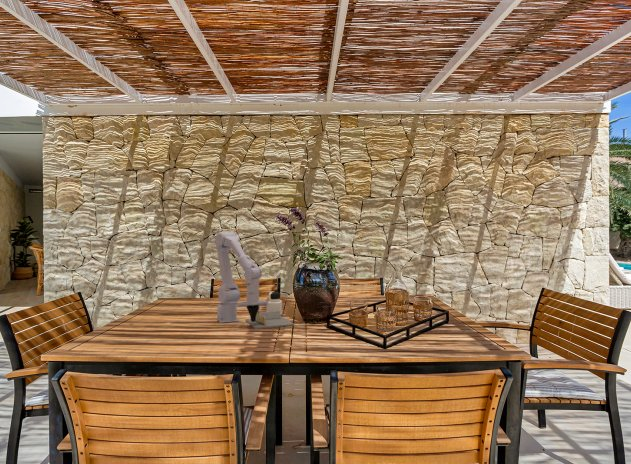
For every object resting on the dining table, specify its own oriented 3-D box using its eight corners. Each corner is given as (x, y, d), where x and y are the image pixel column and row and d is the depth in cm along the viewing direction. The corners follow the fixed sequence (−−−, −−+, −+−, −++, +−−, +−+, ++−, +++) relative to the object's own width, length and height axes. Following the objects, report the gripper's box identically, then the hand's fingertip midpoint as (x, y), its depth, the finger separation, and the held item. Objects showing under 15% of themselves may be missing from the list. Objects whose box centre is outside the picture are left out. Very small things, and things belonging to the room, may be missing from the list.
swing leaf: (264, 325, 217) (264, 316, 217) (253, 319, 229) (253, 311, 229) (269, 324, 218) (269, 315, 218) (258, 319, 230) (258, 310, 230)
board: (255, 329, 214) (255, 327, 214) (245, 320, 231) (245, 319, 231) (294, 325, 221) (294, 324, 221) (282, 317, 238) (282, 316, 238)
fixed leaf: (255, 321, 227) (255, 310, 227) (253, 320, 229) (253, 309, 229) (281, 319, 232) (281, 308, 232) (279, 318, 234) (279, 307, 234)
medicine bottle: (282, 313, 249) (282, 291, 249) (279, 316, 242) (280, 293, 242) (269, 313, 250) (269, 291, 250) (266, 316, 243) (266, 293, 243)
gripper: (239, 294, 213) (239, 324, 214) (270, 293, 219) (270, 321, 219) (236, 292, 220) (236, 321, 220) (266, 290, 225) (266, 318, 225)
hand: (252, 321), depth 220 cm, fingers closed
